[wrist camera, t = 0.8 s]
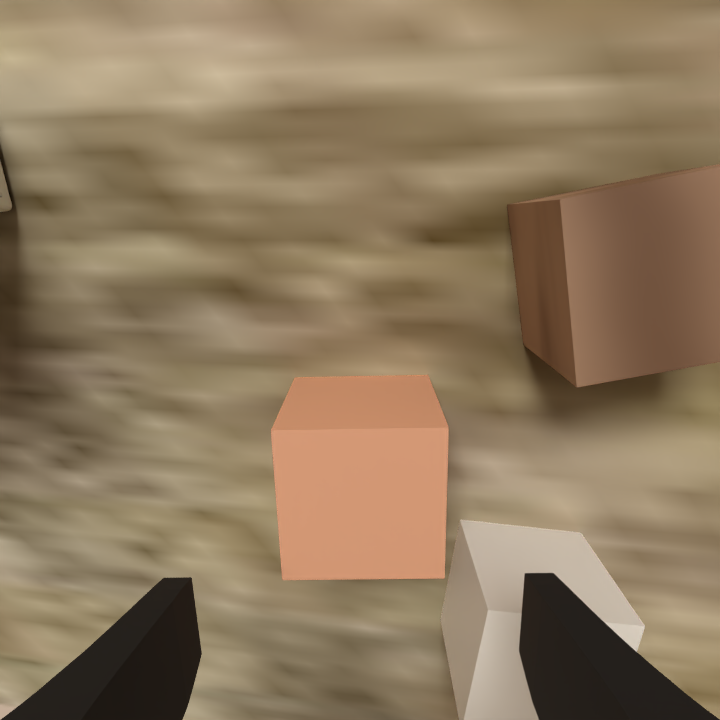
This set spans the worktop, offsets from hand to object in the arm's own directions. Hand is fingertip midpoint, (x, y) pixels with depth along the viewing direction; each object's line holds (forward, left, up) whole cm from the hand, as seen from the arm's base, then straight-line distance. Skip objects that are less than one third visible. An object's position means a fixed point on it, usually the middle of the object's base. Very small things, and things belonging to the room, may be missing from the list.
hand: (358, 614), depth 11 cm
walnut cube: (-8, -7, -9) cm, 14 cm away
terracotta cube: (0, 0, -9) cm, 9 cm away
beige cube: (-6, +6, -9) cm, 13 cm away
